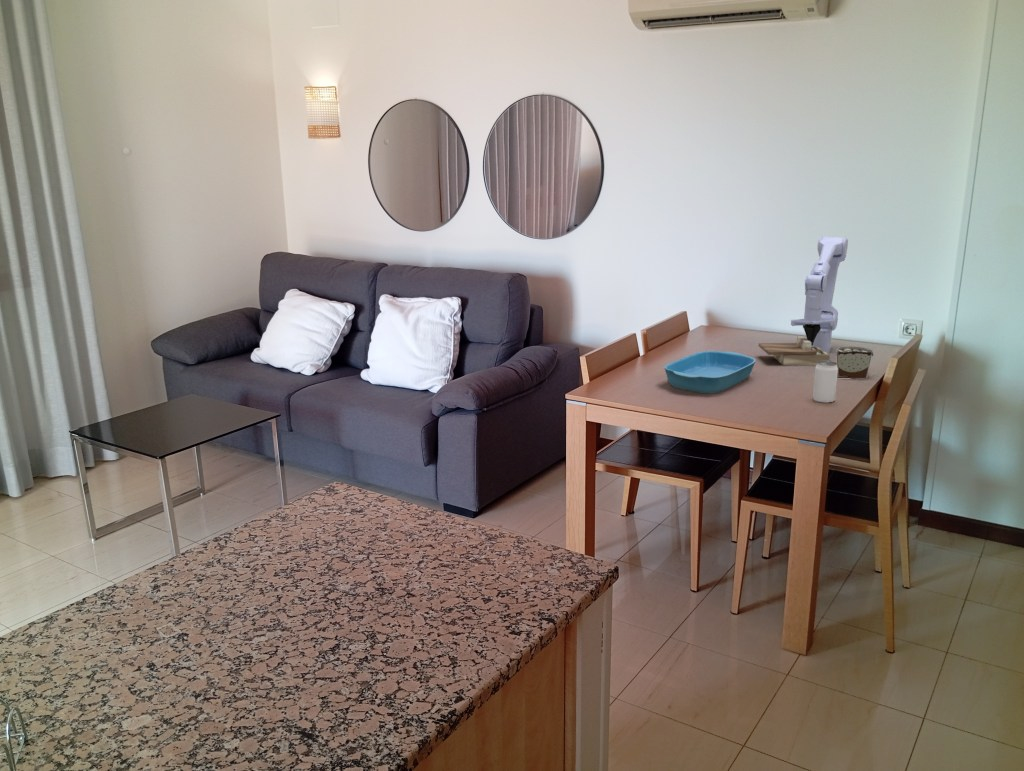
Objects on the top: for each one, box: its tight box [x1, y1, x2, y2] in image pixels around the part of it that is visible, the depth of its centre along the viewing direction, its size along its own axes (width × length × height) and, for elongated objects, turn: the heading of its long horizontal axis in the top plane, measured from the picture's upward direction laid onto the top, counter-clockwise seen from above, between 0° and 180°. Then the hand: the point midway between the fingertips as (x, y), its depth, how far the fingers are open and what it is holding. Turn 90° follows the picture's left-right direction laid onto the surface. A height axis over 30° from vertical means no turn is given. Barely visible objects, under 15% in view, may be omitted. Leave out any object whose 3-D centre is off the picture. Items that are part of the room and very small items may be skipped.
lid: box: [758, 335, 817, 356], centre depth 294 cm, size 14×17×4 cm
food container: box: [834, 345, 874, 380], centre depth 275 cm, size 12×6×10 cm, turn 84°
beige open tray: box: [772, 347, 830, 366], centre depth 295 cm, size 13×16×4 cm
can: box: [812, 360, 838, 404], centre depth 249 cm, size 6×6×12 cm
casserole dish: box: [664, 350, 757, 394], centre depth 272 cm, size 37×22×7 cm, turn 139°
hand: (810, 344), depth 293 cm, fingers closed
